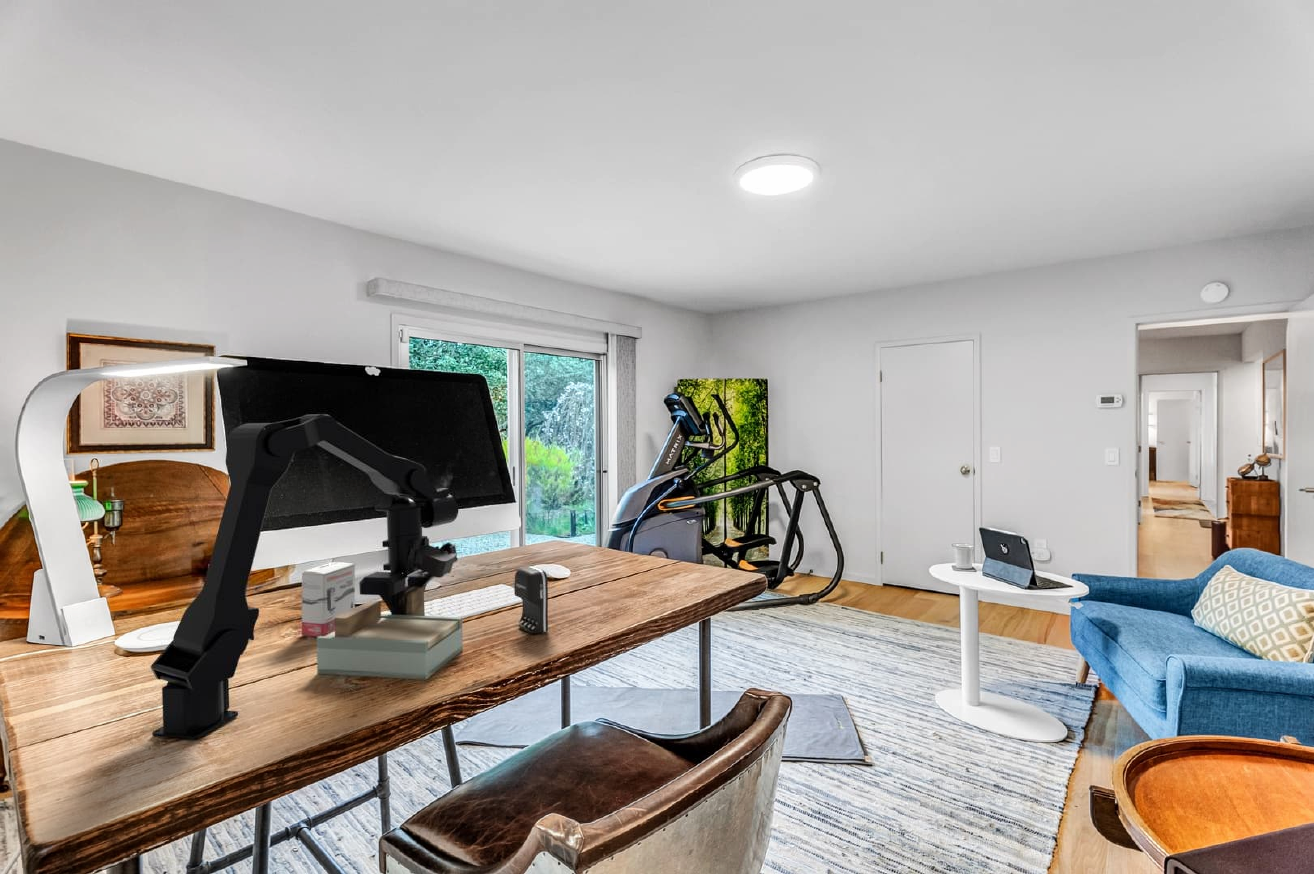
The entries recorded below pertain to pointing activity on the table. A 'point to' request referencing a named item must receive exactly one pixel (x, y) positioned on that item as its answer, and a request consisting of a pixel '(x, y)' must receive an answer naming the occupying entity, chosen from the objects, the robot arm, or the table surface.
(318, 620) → the ink box
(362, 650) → the pale green tray
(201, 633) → the robot arm
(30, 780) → the table surface
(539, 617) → the black handheld device
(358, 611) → the lid
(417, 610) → the small brown rectangular block
